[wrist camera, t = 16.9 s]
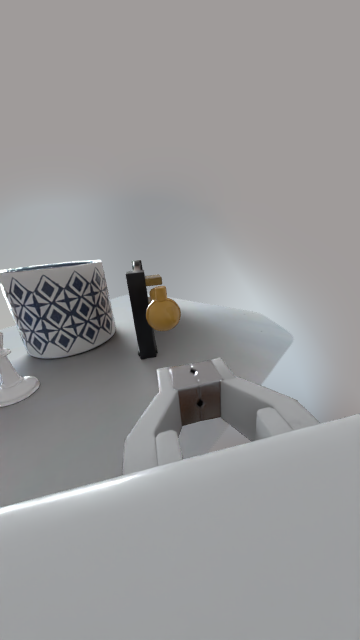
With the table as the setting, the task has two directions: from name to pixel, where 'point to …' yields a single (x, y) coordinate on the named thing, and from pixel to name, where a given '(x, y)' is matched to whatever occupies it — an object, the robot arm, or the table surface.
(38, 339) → the planter
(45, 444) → the table surface
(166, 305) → the bolt
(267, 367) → the table surface
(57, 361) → the table surface
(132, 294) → the gate frame
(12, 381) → the chess piece
